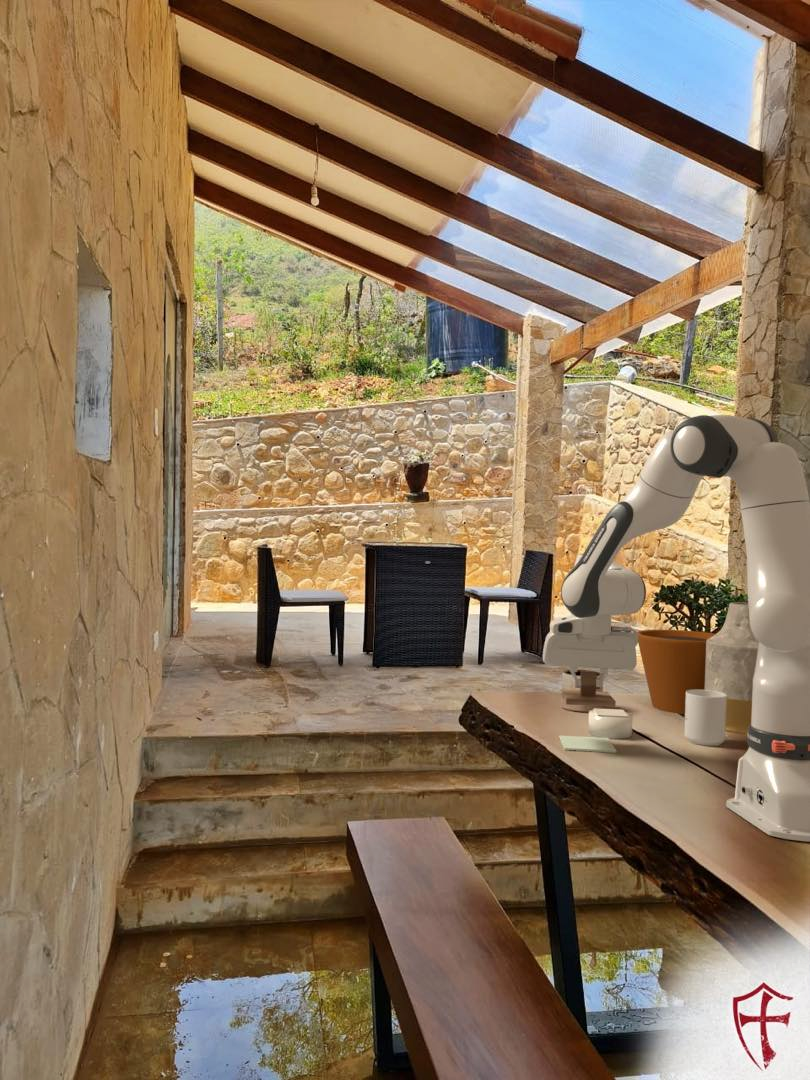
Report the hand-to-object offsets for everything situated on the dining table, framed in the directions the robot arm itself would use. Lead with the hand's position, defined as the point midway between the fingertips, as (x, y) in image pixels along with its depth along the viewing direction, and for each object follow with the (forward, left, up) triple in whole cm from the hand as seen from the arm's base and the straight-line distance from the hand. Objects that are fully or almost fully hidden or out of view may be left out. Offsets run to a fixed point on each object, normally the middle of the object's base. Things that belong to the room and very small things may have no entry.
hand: (587, 687), depth 188 cm
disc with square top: (+12, -7, -13) cm, 19 cm away
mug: (+10, -28, -13) cm, 33 cm away
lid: (0, 0, -3) cm, 3 cm away
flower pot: (+45, -31, -13) cm, 56 cm away
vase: (+27, -42, -13) cm, 52 cm away
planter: (+39, -4, -13) cm, 41 cm away
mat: (0, 0, -13) cm, 13 cm away
